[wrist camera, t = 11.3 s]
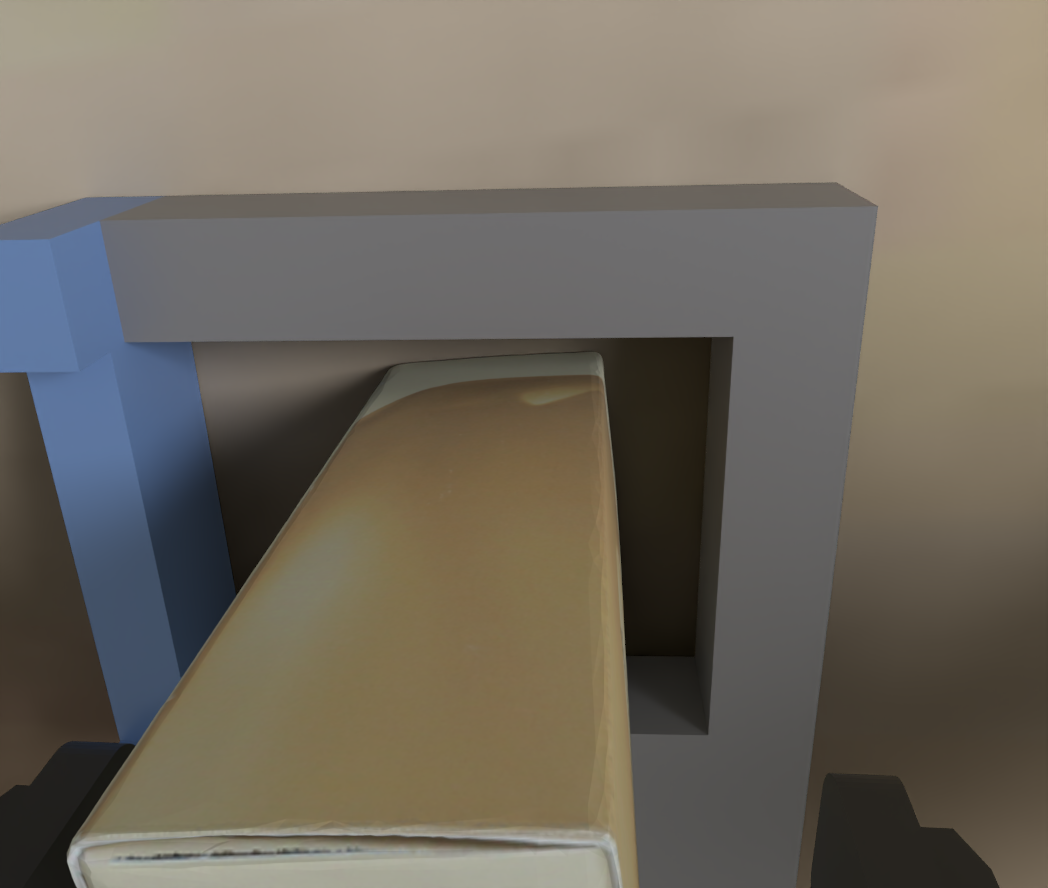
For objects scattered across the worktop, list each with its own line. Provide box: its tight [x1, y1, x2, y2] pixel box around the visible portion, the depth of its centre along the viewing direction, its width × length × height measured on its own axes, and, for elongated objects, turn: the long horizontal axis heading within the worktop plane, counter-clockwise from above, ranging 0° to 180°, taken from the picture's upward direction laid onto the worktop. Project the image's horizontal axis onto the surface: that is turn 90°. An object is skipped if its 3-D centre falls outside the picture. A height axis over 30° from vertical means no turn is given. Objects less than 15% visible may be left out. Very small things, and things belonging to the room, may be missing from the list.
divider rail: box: [0, 183, 878, 888], centre depth 20 cm, size 14×25×4 cm, turn 2°
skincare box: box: [67, 352, 639, 888], centre depth 13 cm, size 6×4×12 cm
